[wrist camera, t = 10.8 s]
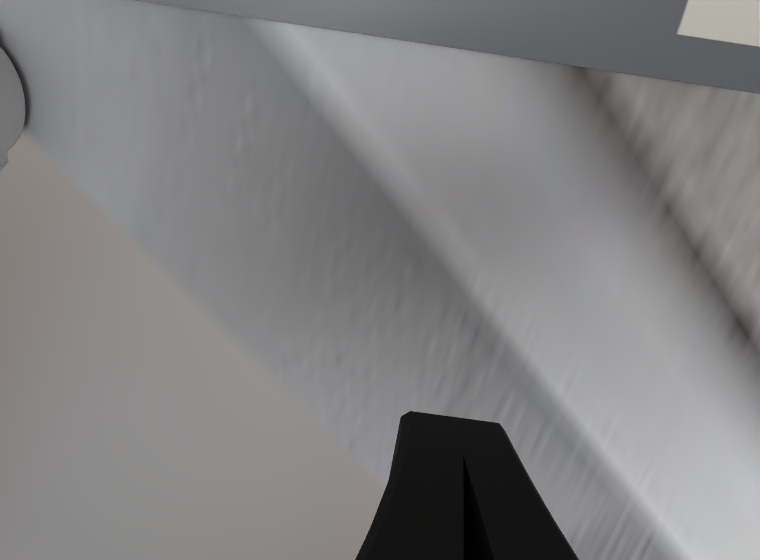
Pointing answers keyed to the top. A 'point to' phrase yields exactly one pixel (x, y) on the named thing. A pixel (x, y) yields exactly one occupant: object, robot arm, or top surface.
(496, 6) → the switch board
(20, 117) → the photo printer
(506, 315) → the top surface
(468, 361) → the top surface
